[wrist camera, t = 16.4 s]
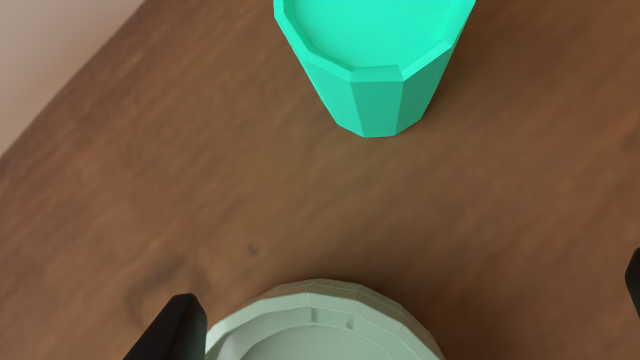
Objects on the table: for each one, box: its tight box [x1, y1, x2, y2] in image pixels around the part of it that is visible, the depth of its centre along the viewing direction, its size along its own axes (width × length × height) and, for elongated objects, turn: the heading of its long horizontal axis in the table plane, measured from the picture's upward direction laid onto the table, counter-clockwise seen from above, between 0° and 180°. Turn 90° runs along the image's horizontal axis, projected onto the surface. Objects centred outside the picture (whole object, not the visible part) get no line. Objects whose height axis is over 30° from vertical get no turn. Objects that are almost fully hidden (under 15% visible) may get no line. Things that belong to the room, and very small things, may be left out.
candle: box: [274, 0, 476, 138], centre depth 17 cm, size 6×6×12 cm
